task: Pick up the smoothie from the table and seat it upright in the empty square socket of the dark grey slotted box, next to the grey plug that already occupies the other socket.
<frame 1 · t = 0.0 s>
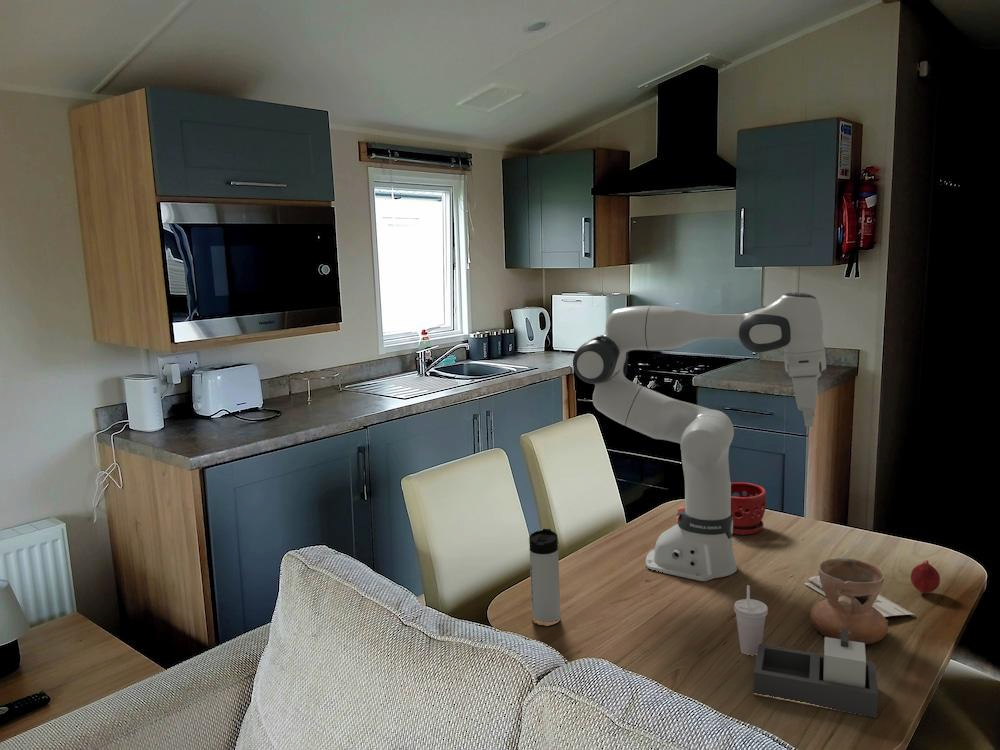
hand: (810, 421, 175), 39 cm above the table, tool pointing down, fingers open, 8 cm apart
onion: (924, 594, 171), on the table
plant pot: (740, 530, 214), on the table
newspaper: (857, 603, 170), on the table
travel mug: (546, 620, 167), on the table
smoothie: (750, 652, 151), on the table
dark grey slotted box: (814, 690, 137), on the table
ceramic jug: (848, 633, 156), on the table
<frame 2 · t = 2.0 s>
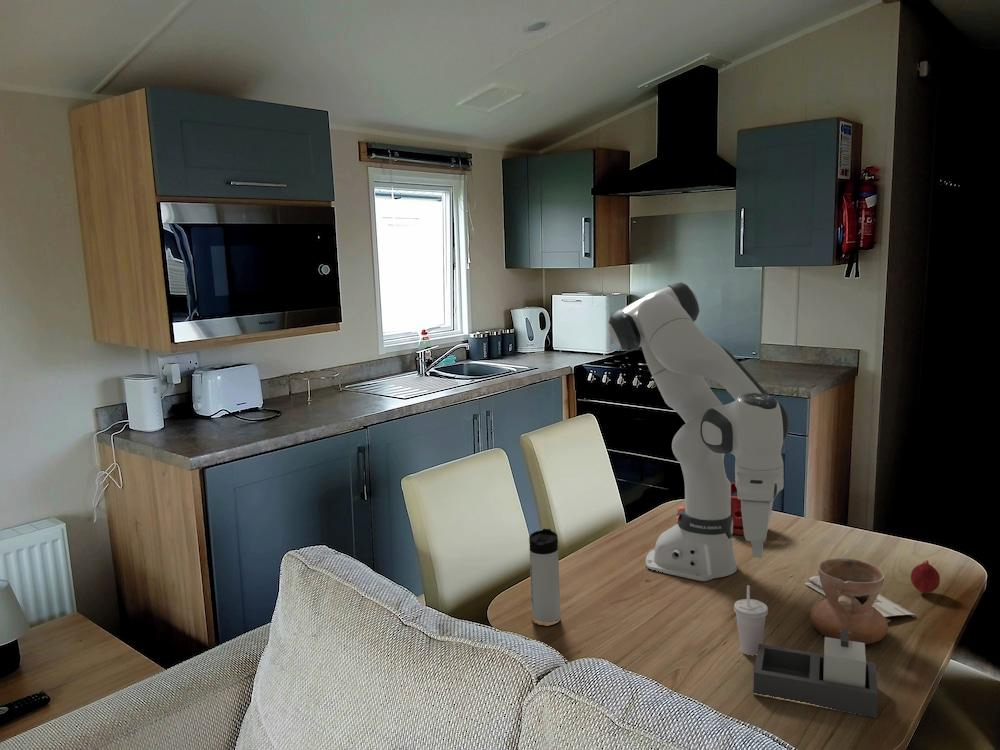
hand: (759, 546, 147), 22 cm above the table, tool pointing down, fingers open, 8 cm apart
nothing on the table moved.
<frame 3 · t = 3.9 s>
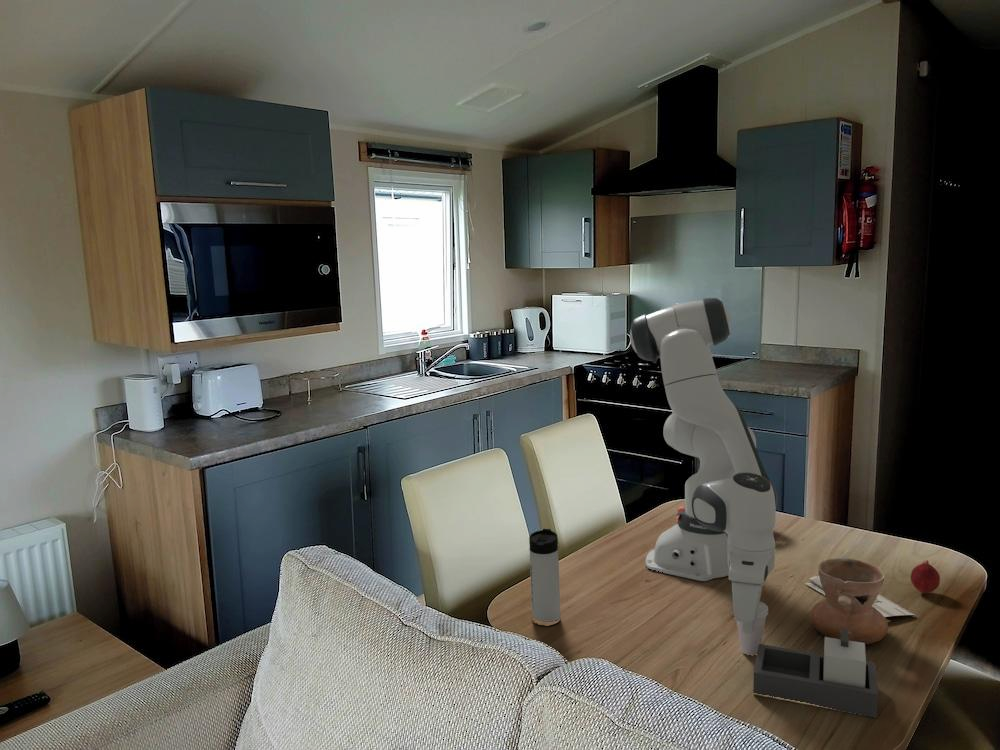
hand: (749, 622, 149), 6 cm above the table, tool pointing down, fingers closed on smoothie, 6 cm apart
smoothie: (750, 652, 151), on the table, touching gripper
everything else where it was.
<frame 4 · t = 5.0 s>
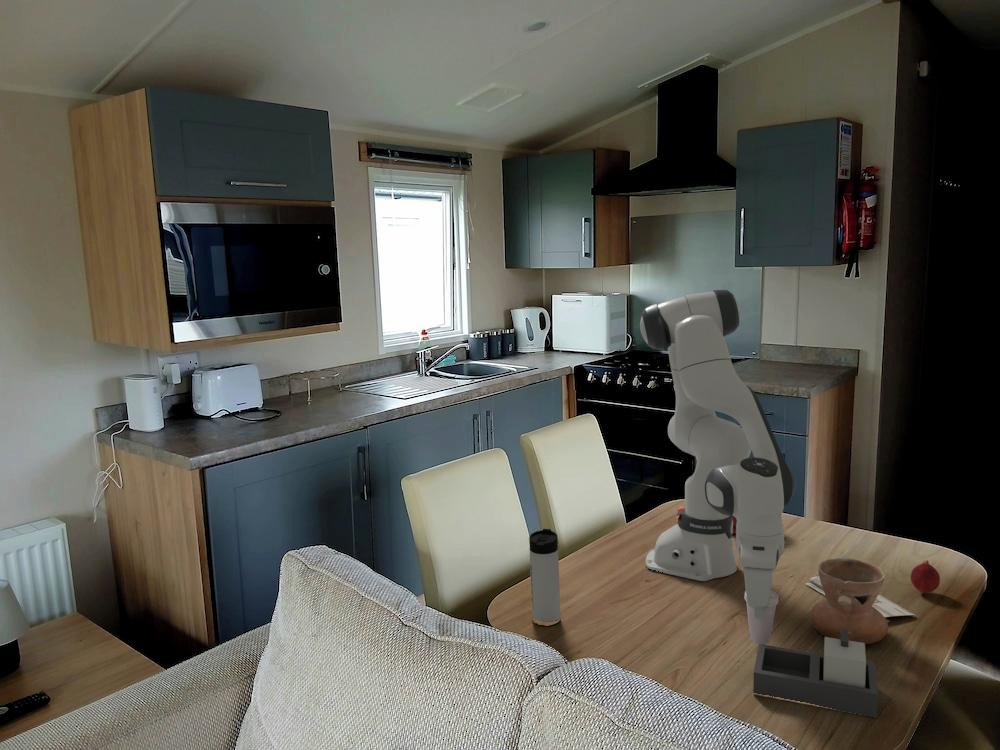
hand: (760, 607, 149), 9 cm above the table, tool pointing down, fingers closed on smoothie, 6 cm apart
smoothie: (759, 640, 151), point 2 cm above the table, touching gripper
everything else where it was.
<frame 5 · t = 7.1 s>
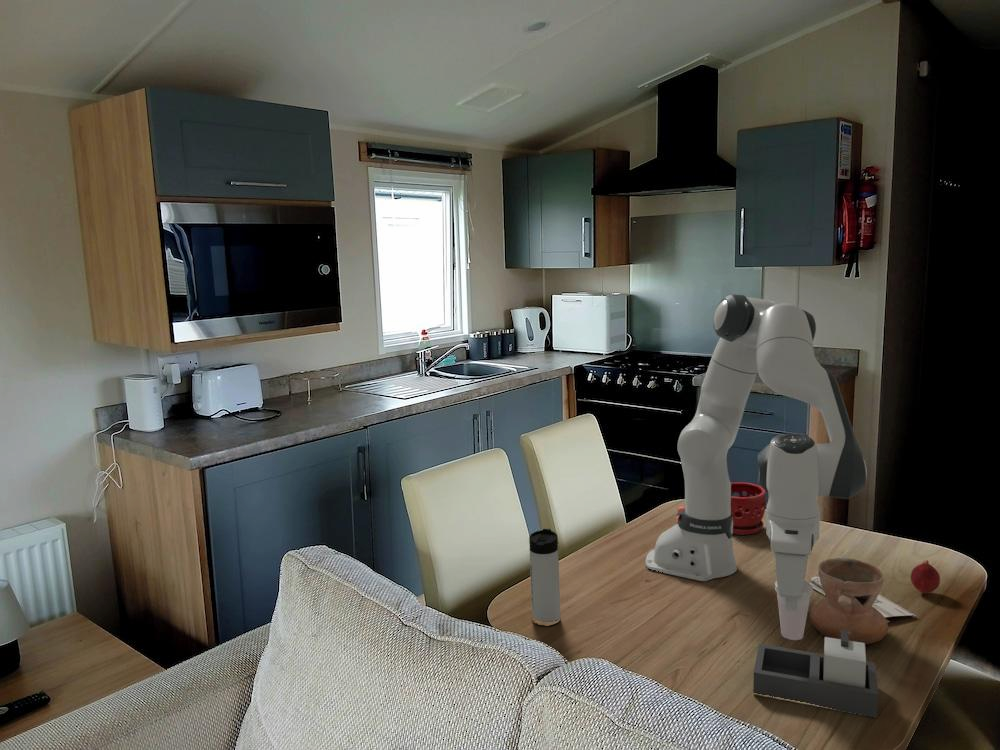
hand: (792, 599, 136), 17 cm above the table, tool pointing down, fingers closed on smoothie, 6 cm apart
smoothie: (792, 635, 137), point 10 cm above the table, touching gripper
everything else where it was.
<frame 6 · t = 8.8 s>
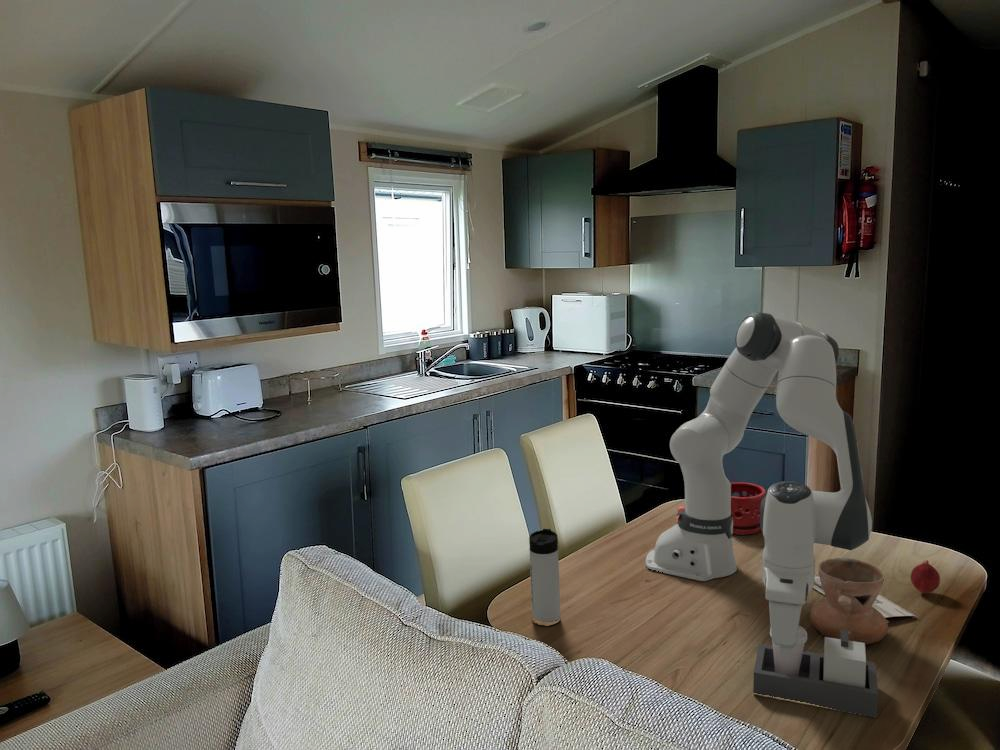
hand: (786, 644, 137), 8 cm above the table, tool pointing down, fingers closed on smoothie, 6 cm apart
smoothie: (786, 679, 139), point 1 cm above the table, touching gripper
everything else where it was.
when the fingers open (8 cm above the table, at t = 9.0 s): smoothie stays where it is, resting on dark grey slotted box.
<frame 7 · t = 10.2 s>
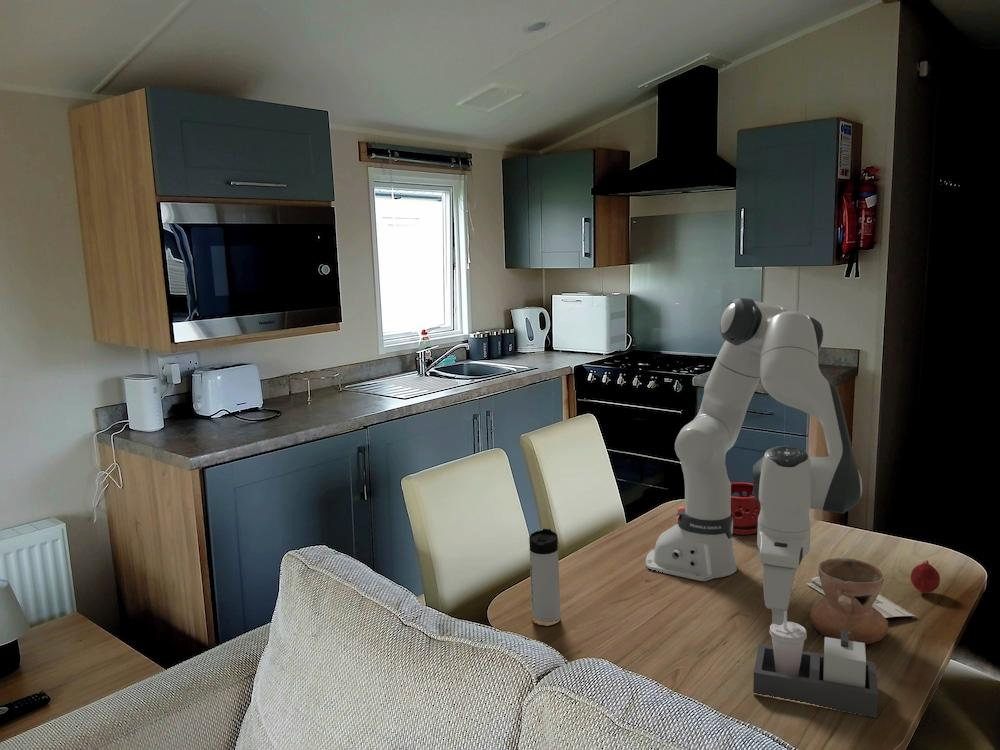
hand: (780, 610, 136), 15 cm above the table, tool pointing down, fingers open, 8 cm apart
smoothie: (787, 678, 139), point 1 cm above the table, touching dark grey slotted box
everything else where it was.
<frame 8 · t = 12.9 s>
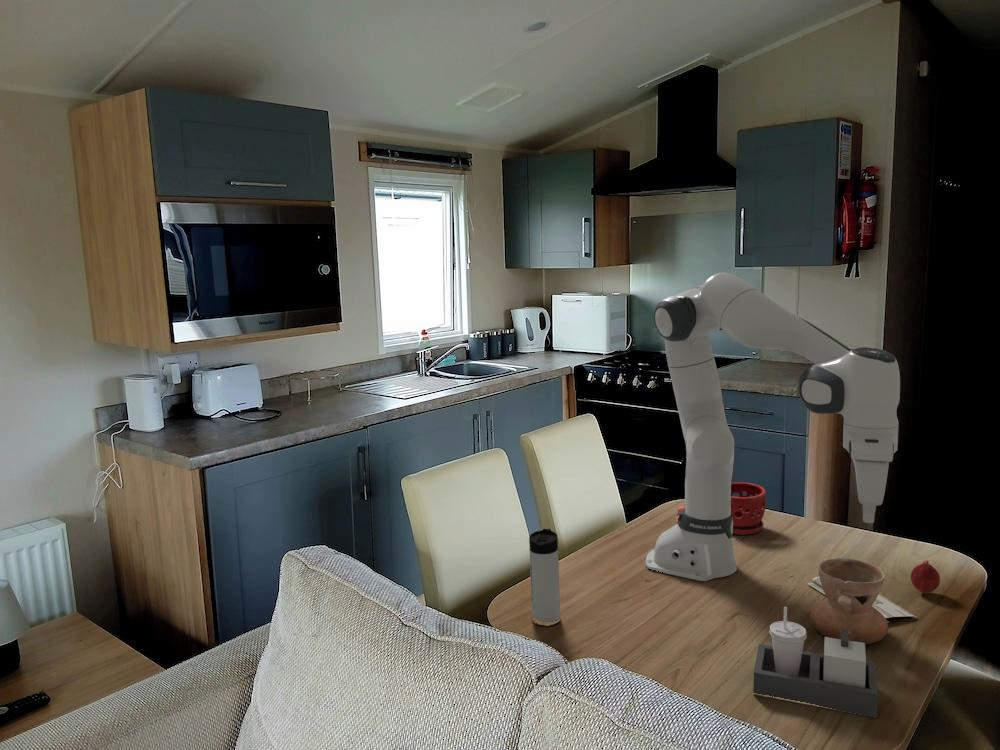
hand: (867, 512, 137), 31 cm above the table, tool pointing down, fingers open, 8 cm apart
nothing on the table moved.
at the end: smoothie 0.9 cm from the target spot on the dark grey slotted box, point 0.8 cm above the dark grey slotted box's base; smoothie tilted 0°; the gripper is holding nothing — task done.
